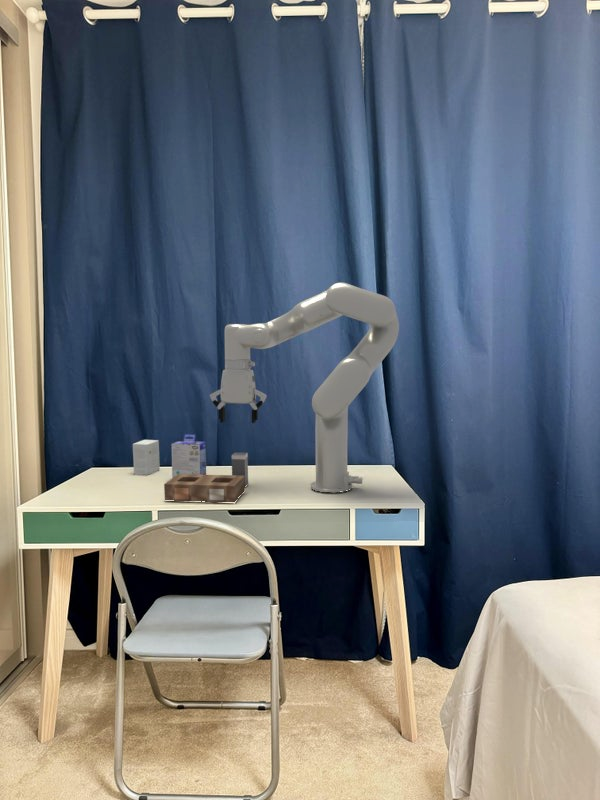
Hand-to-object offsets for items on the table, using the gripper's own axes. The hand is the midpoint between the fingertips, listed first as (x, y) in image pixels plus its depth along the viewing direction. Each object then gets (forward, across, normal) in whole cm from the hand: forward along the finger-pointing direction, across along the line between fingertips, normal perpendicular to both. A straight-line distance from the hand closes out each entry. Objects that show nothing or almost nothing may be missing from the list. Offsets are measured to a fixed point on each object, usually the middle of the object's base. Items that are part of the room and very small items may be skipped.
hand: (238, 422), depth 182 cm
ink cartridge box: (+20, +18, -6) cm, 27 cm away
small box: (+20, +36, -15) cm, 44 cm away
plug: (+20, 0, 0) cm, 20 cm away
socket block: (+20, +7, +13) cm, 25 cm away
